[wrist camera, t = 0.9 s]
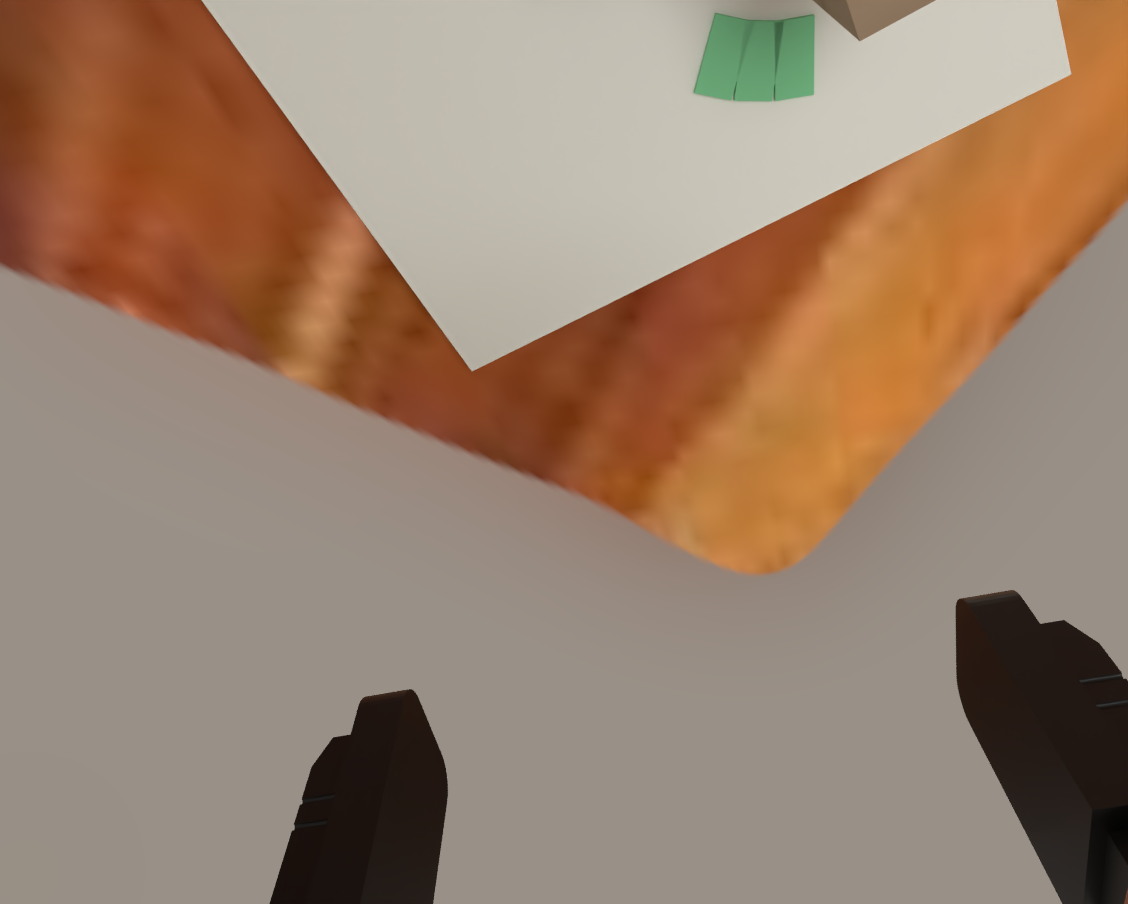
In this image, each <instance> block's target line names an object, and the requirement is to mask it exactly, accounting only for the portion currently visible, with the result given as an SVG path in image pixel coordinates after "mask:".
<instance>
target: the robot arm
mask: <svg viewBox="0 0 1128 904" xmlns="http://www.w3.org/2000/svg"><path fill="white" fill-rule="evenodd" d="M956 665H957V667H956V670H957V671H956V672H957V685H958V690H959V694H960V699H961V702H962V705H963V709H964V712H965V714H966V717H967V719H968V721H969V723H970V725H971V727H972V729H973V731H974V733H975V735H976V737H977V739H978V741H979V743H980V745H981V747H982V748H983V750H984V752H985V754H986V756H987V758H988V760H989V762H990V764H991V766H992V768H993V770H994V772H995V774H996V776H997V778H998V780H999V781H1000V783H1001V785H1002V787H1003V789H1004V791H1005V793H1006V795H1007V797H1008V799H1009V801H1010V803H1011V805H1012V807H1013V809H1014V811H1015V813H1016V814H1017V816H1018V818H1019V820H1020V822H1021V824H1022V826H1023V828H1024V830H1025V832H1026V834H1027V836H1028V837H1029V840H1030V842H1031V844H1032V846H1033V847H1034V849H1035V851H1036V853H1037V855H1038V857H1039V859H1040V861H1041V863H1042V865H1043V867H1044V869H1045V871H1046V873H1047V875H1048V877H1049V878H1050V880H1051V882H1052V884H1053V886H1054V888H1055V890H1056V892H1057V894H1058V896H1059V898H1060V900H1061V902H1062V904H1128V681H1127V679H1123V677H1122V673H1121V671H1120V670H1119V669H1118V667H1117V666H1116V665H1115V663H1114V662H1113V661H1112V659H1111V658H1110V657H1109V656H1108V654H1107V653H1106V652H1105V650H1104V649H1103V648H1102V646H1101V645H1100V644H1099V643H1098V642H1096V641H1095V640H1093V639H1092V638H1090V637H1089V636H1087V635H1086V634H1084V633H1083V632H1081V631H1080V630H1078V629H1077V628H1075V627H1074V626H1072V625H1070V624H1069V623H1067V622H1066V621H1065V620H1062V621H1056V622H1050V623H1044V624H1040V623H1039V622H1038V621H1037V619H1036V617H1035V616H1034V614H1033V613H1032V612H1031V610H1030V609H1029V607H1028V606H1027V604H1026V603H1025V601H1024V600H1023V599H1022V597H1021V596H1020V595H1019V594H1018V593H1017V592H1016V591H1014V590H1010V591H1004V592H998V593H992V594H986V595H980V596H975V597H968V598H962V599H959V600H958V601H957V603H956ZM447 797H448V784H447V773H446V768H445V763H444V759H443V757H442V754H441V751H440V749H439V747H438V744H437V742H436V740H435V737H434V735H433V732H432V730H431V727H430V725H429V722H428V720H427V718H426V715H425V713H424V710H423V708H422V705H421V703H420V701H419V698H418V696H417V695H416V693H415V692H414V691H413V690H411V689H409V690H403V691H397V692H391V693H385V694H379V695H374V696H367V697H364V698H363V699H362V700H361V701H360V704H359V706H358V710H357V715H356V717H355V721H354V725H353V729H352V732H351V735H346V736H340V737H334V738H332V740H331V741H330V743H329V744H328V745H327V747H326V748H325V750H324V751H323V752H322V754H321V755H320V756H319V758H318V759H317V760H316V762H315V763H314V765H313V766H312V768H311V771H310V774H309V778H308V781H307V784H306V787H305V791H304V793H303V797H302V800H303V804H302V805H300V806H299V810H298V813H297V817H296V820H295V823H294V825H295V830H294V831H292V832H291V836H290V839H289V842H288V845H287V849H286V852H285V855H284V858H283V862H282V865H281V868H280V871H279V875H278V878H277V881H276V885H275V888H274V891H273V895H272V897H271V901H270V904H433V900H434V892H435V886H436V878H437V871H438V863H439V856H440V849H441V842H442V835H443V828H444V820H445V813H446V806H447Z"/></svg>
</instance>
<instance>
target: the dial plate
mask: <svg viewBox="0 0 1128 904" xmlns="http://www.w3.org/2000/svg"><path fill="white" fill-rule="evenodd" d="M202 2H203V3H204V4H205V6H206V7H207V8H208V10H209V11H210V12H211V14H212V15H213V17H214V18H215V19H216V21H217V22H218V23H219V25H220V26H221V28H222V29H223V30H224V32H225V33H226V34H227V36H228V37H229V39H230V40H231V41H232V43H233V44H234V45H235V47H236V48H237V50H238V51H239V52H240V54H241V55H242V56H243V58H244V59H245V61H246V62H247V63H248V65H249V66H250V67H251V69H252V70H253V72H254V73H255V74H256V76H257V77H258V78H259V80H260V81H261V83H262V84H263V85H264V87H265V88H266V89H267V91H268V92H269V94H270V95H271V96H272V98H273V99H274V100H275V102H276V103H277V105H278V106H279V107H280V109H281V110H282V111H283V113H284V114H285V115H286V117H287V118H288V120H289V121H290V122H291V124H292V125H293V126H294V128H295V129H296V131H297V132H298V133H299V135H300V136H301V137H302V139H303V140H304V142H305V143H306V144H307V146H308V147H309V148H310V150H311V151H312V153H313V154H314V155H315V157H316V158H317V159H318V161H319V162H320V164H321V165H322V166H323V168H324V169H325V170H326V172H327V173H328V175H329V176H330V177H331V179H332V180H333V181H334V183H335V184H336V186H337V187H338V188H339V190H340V191H341V192H342V194H343V195H344V197H345V198H346V199H347V201H348V202H349V203H350V205H351V206H352V208H353V209H354V210H355V212H356V213H357V214H358V216H359V217H360V218H361V220H362V221H363V223H364V224H365V225H366V227H367V228H368V229H369V231H370V232H371V234H372V235H373V236H374V238H375V239H376V240H377V242H378V243H379V245H380V246H381V247H382V249H383V250H384V251H385V253H386V254H387V256H388V257H389V258H390V260H391V261H392V262H393V264H394V265H395V267H396V268H397V269H398V271H399V272H400V273H401V275H402V276H403V278H404V279H405V280H406V282H407V283H408V284H409V286H410V287H411V289H412V290H413V291H414V293H415V294H416V295H417V297H418V298H419V300H420V301H421V302H422V304H423V305H424V306H425V308H426V309H427V311H428V312H429V313H430V315H431V316H432V317H433V319H434V320H435V321H436V323H437V324H438V326H439V327H440V328H441V330H442V331H443V332H444V334H445V335H446V337H447V338H448V339H449V341H450V342H451V343H452V345H453V346H454V348H455V349H456V350H457V352H458V353H459V354H460V356H461V357H462V359H463V360H464V361H465V363H466V364H467V365H468V367H469V368H470V370H471V371H474V370H476V369H478V368H480V367H482V366H484V365H486V364H488V363H490V362H492V361H494V360H496V359H498V358H500V357H502V356H504V355H506V354H508V353H510V352H512V351H514V350H516V349H518V348H520V347H522V346H524V345H526V344H528V343H530V342H532V341H534V340H536V339H538V338H540V337H542V336H544V335H546V334H549V333H551V332H553V331H555V330H557V329H559V328H561V327H563V326H565V325H567V324H569V323H571V322H573V321H575V320H577V319H579V318H581V317H583V316H585V315H587V314H589V313H591V312H593V311H595V310H597V309H599V308H601V307H603V306H605V305H607V304H609V303H611V302H613V301H615V300H617V299H619V298H621V297H623V296H625V295H627V294H629V293H631V292H633V291H635V290H637V289H639V288H641V287H643V286H645V285H647V284H649V283H651V282H653V281H655V280H657V279H659V278H661V277H663V276H665V275H667V274H669V273H672V272H674V271H676V270H678V269H680V268H682V267H684V266H686V265H688V264H690V263H692V262H694V261H696V260H698V259H700V258H702V257H704V256H706V255H708V254H710V253H712V252H714V251H716V250H718V249H720V248H722V247H724V246H726V245H728V244H730V243H732V242H734V241H736V240H738V239H740V238H742V237H744V236H746V235H748V234H750V233H752V232H754V231H756V230H758V229H760V228H762V227H764V226H766V225H768V224H770V223H772V222H774V221H776V220H778V219H780V218H782V217H784V216H786V215H788V214H790V213H792V212H795V211H797V210H799V209H801V208H803V207H805V206H807V205H809V204H811V203H813V202H815V201H817V200H819V199H821V198H823V197H825V196H827V195H829V194H831V193H833V192H835V191H837V190H839V189H841V188H843V187H845V186H847V185H849V184H851V183H853V182H855V181H857V180H859V179H861V178H863V177H865V176H867V175H869V174H871V173H873V172H875V171H877V170H879V169H881V168H883V167H885V166H887V165H889V164H891V163H893V162H895V161H897V160H899V159H901V158H903V157H905V156H907V155H909V154H911V153H913V152H916V151H918V150H920V149H922V148H924V147H926V146H928V145H930V144H932V143H934V142H936V141H938V140H940V139H942V138H944V137H946V136H948V135H950V134H952V133H954V132H956V131H958V130H960V129H962V128H964V127H966V126H968V125H970V124H972V123H974V122H976V121H978V120H980V119H982V118H984V117H986V116H988V115H990V114H992V113H994V112H996V111H998V110H1000V109H1002V108H1004V107H1006V106H1008V105H1010V104H1012V103H1014V102H1016V101H1018V100H1020V99H1022V98H1024V97H1026V96H1028V95H1030V94H1032V93H1034V92H1036V91H1039V90H1041V89H1043V88H1045V87H1047V86H1049V85H1051V84H1053V83H1055V82H1057V81H1059V80H1061V79H1063V78H1065V77H1067V76H1069V75H1071V71H1070V66H1069V61H1068V56H1067V51H1066V46H1065V41H1064V36H1063V32H1062V27H1061V22H1060V17H1059V12H1058V7H1057V2H1056V0H935V1H934V2H932V3H930V4H928V5H926V6H924V7H922V8H921V9H919V10H917V11H915V12H913V13H911V14H909V15H908V16H906V17H904V18H902V19H900V20H898V21H897V22H895V23H893V24H891V25H889V26H887V27H885V28H884V29H882V30H880V31H878V32H876V33H874V34H872V35H871V36H869V37H867V38H865V39H863V40H861V41H859V40H858V39H857V38H855V37H854V36H853V35H852V34H851V33H850V32H848V31H847V30H846V29H845V28H844V27H843V26H842V25H840V24H839V23H838V22H837V21H836V20H835V19H834V18H832V17H831V16H830V15H829V14H828V13H827V12H826V11H824V10H823V9H822V8H821V7H820V6H819V5H818V4H816V3H815V2H814V1H813V0H202Z"/></svg>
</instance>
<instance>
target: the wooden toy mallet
mask: <svg viewBox="0 0 1128 904" xmlns="http://www.w3.org/2000/svg"><path fill="white" fill-rule="evenodd" d="M813 1H814V2H815V3H816V4H818V5H819V6H820V7H821V8H822V9H823V10H824V11H826V12H827V13H828V14H829V15H830V16H831V17H832V18H834V19H835V20H836V21H837V22H838V23H839V24H840V25H842V26H843V27H844V28H845V29H846V30H847V31H848V32H850V33H851V34H852V35H853V36H854V37H855V38H857V39H858V40H859V41H861V40H863V39H865V38H867V37H869V36H871V35H872V34H874V33H876V32H878V31H880V30H882V29H884V28H885V27H887V26H889V25H891V24H893V23H895V22H897V21H898V20H900V19H902V18H904V17H906V16H908V15H909V14H911V13H913V12H915V11H917V10H919V9H921V8H922V7H924V6H926V5H928V4H930V3H932V2H934V1H935V0H813Z"/></svg>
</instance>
